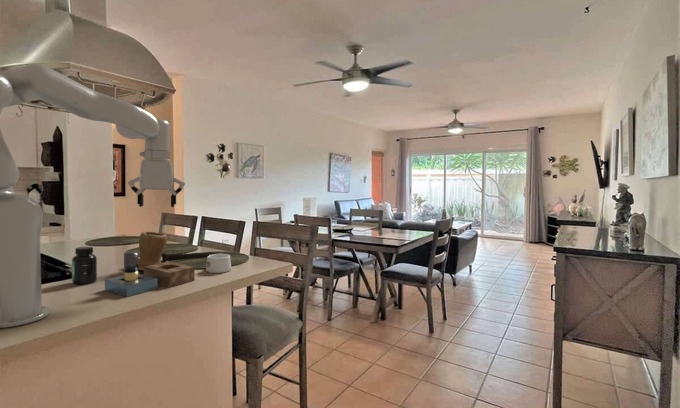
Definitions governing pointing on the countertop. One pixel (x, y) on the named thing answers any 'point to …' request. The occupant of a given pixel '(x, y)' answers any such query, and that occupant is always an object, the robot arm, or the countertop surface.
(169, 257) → the wrench
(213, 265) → the mug
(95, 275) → the supplement bottle
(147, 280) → the socket block
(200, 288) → the countertop surface
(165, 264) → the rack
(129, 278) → the two-tone roller
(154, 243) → the tan boot
